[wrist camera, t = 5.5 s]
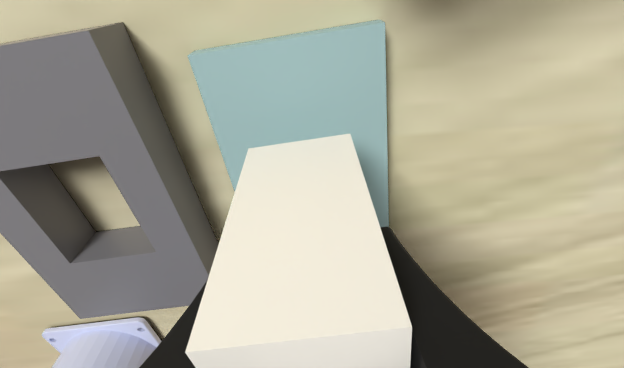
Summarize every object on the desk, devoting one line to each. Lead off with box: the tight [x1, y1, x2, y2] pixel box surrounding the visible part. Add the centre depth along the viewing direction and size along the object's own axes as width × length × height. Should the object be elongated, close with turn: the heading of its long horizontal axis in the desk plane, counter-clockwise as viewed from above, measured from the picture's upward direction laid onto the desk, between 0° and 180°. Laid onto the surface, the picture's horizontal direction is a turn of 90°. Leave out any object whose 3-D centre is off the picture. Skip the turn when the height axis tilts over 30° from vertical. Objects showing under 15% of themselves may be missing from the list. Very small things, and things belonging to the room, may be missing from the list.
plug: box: [185, 134, 412, 368], centre depth 10 cm, size 5×4×8 cm
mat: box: [188, 20, 389, 227], centre depth 16 cm, size 12×8×1 cm, turn 8°
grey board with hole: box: [0, 22, 218, 319], centre depth 16 cm, size 15×9×2 cm, turn 8°
